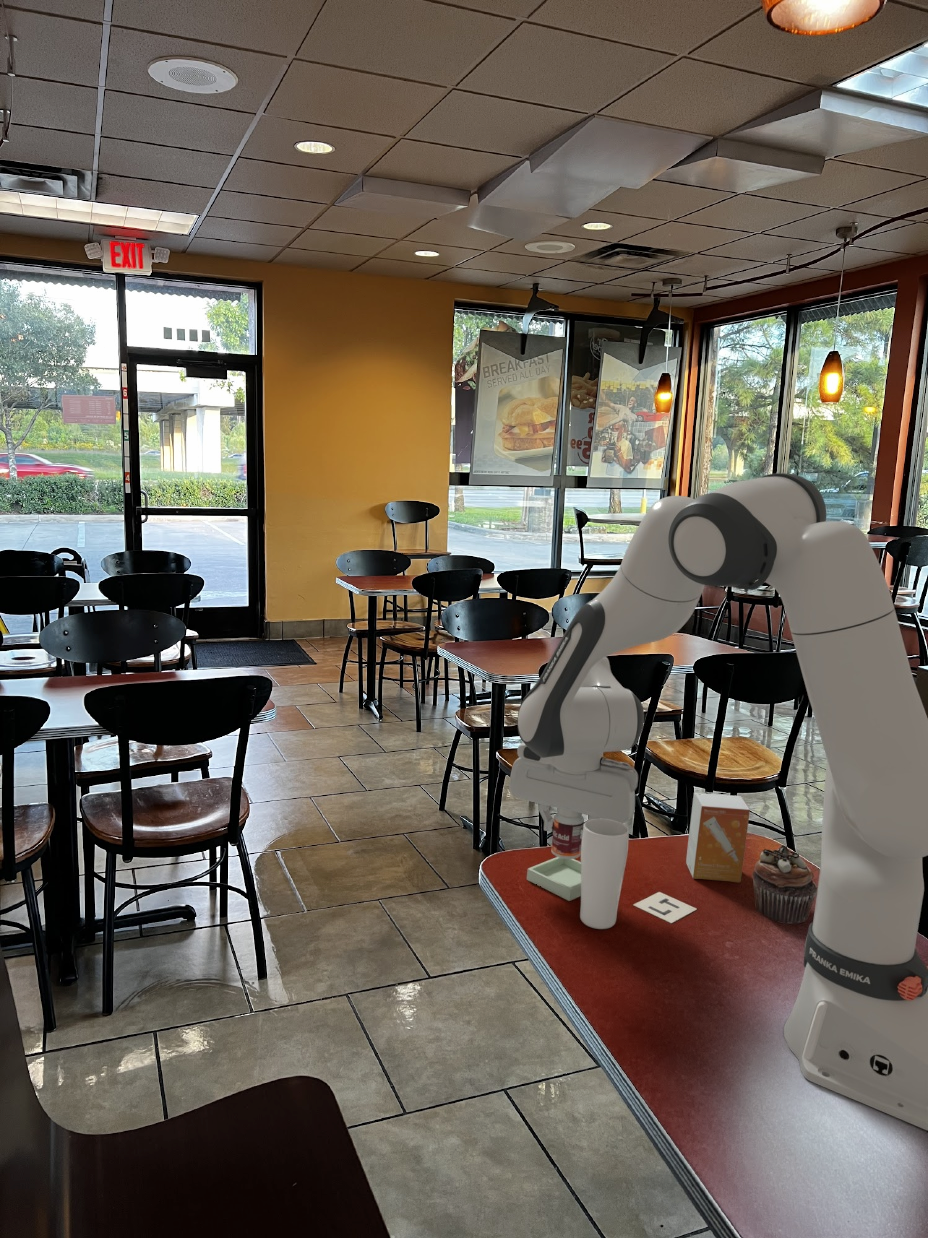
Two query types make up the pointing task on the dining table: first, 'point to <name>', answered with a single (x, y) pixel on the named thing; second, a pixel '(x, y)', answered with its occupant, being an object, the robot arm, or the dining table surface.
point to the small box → (717, 837)
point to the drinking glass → (602, 870)
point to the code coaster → (665, 907)
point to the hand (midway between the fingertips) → (567, 834)
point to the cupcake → (783, 886)
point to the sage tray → (558, 877)
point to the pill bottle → (567, 833)
